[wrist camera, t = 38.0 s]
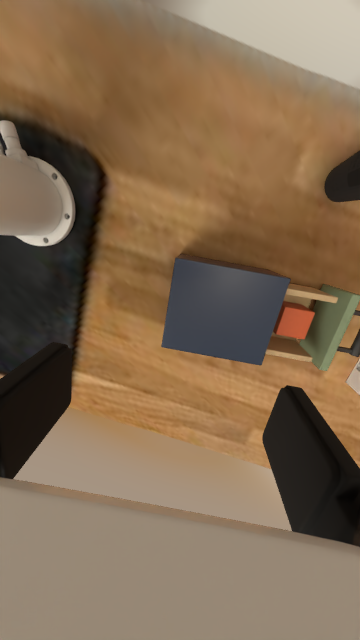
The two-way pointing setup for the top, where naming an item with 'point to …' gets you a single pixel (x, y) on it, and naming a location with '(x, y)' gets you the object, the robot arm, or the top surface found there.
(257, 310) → the cabinet
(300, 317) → the block
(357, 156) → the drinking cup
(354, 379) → the red-lidded white box
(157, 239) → the top surface
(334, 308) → the drawer
